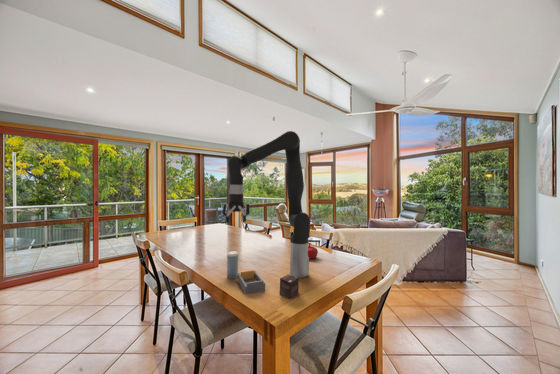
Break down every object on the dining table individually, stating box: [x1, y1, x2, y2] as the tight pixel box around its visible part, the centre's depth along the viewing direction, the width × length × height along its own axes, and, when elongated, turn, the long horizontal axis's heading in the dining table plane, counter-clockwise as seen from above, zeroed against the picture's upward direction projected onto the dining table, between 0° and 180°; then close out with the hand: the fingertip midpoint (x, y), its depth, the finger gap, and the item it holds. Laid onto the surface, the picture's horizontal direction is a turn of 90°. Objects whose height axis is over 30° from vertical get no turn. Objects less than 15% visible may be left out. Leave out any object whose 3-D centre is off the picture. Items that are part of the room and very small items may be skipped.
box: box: [279, 273, 300, 300], centre depth 97 cm, size 6×6×7 cm
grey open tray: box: [236, 270, 266, 295], centre depth 106 cm, size 9×16×4 cm, turn 23°
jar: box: [226, 250, 239, 279], centre depth 115 cm, size 6×6×12 cm
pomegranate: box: [308, 243, 319, 260], centre depth 147 cm, size 10×10×9 cm
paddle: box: [240, 269, 255, 280], centre depth 111 cm, size 7×1×4 cm, turn 113°
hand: (235, 222), depth 123 cm, fingers open, 8 cm apart
